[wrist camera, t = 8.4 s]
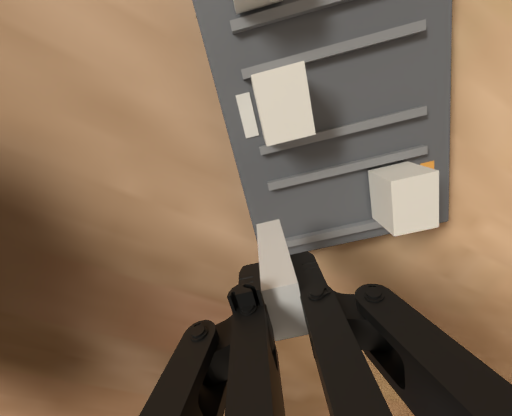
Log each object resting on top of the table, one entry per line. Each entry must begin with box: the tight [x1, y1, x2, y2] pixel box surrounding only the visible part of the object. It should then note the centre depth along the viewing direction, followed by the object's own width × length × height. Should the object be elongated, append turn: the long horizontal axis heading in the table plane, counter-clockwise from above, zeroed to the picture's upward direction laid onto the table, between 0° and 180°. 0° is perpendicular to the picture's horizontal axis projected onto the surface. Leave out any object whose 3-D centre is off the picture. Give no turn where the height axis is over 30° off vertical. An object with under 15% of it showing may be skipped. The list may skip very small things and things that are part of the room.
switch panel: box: [192, 0, 452, 255], centre depth 19 cm, size 16×24×3 cm, turn 14°
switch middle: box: [251, 61, 316, 146], centre depth 16 cm, size 3×4×4 cm
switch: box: [368, 161, 439, 237], centre depth 18 cm, size 3×4×4 cm
